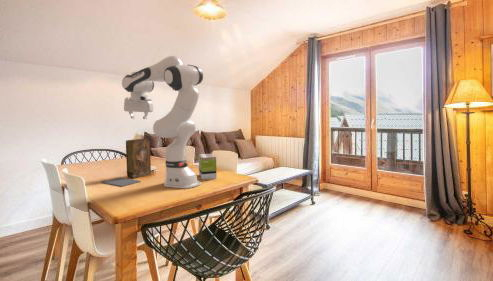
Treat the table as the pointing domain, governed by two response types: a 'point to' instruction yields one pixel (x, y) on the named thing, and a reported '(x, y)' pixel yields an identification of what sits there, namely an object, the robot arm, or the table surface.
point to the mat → (120, 181)
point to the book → (138, 158)
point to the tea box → (207, 166)
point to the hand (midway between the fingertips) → (138, 118)
